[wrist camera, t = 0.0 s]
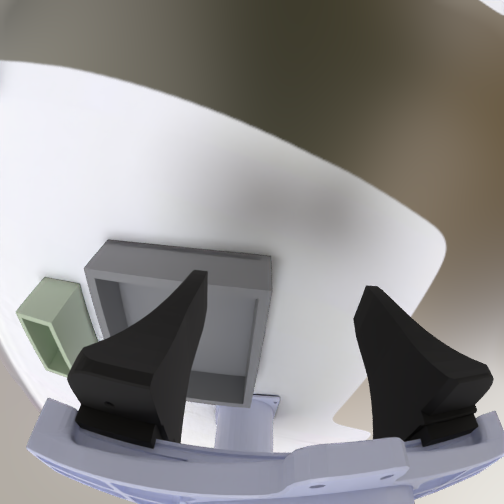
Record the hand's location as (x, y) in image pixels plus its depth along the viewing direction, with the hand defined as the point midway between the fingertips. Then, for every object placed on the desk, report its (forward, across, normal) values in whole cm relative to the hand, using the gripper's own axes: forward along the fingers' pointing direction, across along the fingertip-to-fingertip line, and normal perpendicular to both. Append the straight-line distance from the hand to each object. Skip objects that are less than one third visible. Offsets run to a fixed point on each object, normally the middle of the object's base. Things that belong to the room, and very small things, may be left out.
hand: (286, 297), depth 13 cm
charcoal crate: (+10, +7, +12) cm, 17 cm away
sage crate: (+10, +21, +14) cm, 27 cm away
